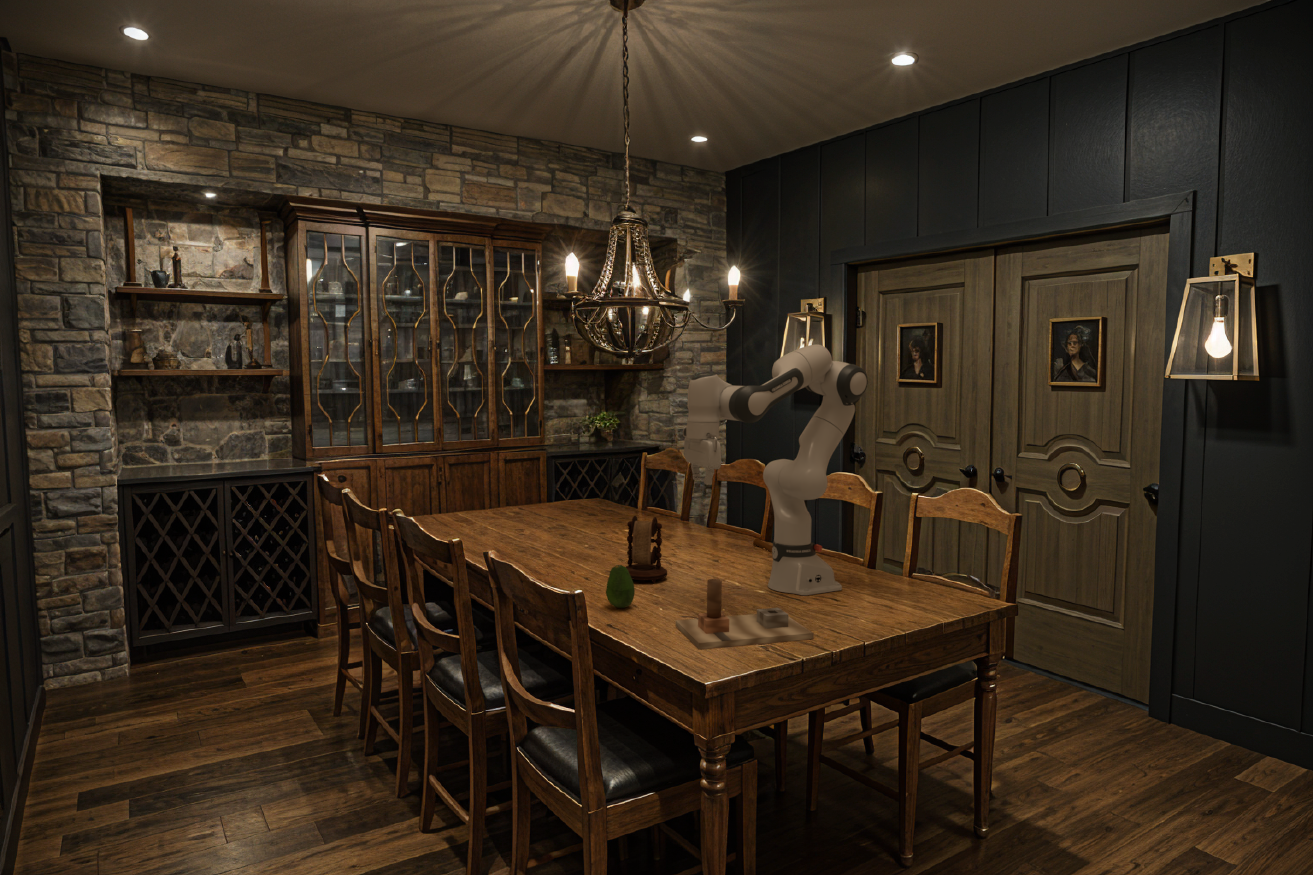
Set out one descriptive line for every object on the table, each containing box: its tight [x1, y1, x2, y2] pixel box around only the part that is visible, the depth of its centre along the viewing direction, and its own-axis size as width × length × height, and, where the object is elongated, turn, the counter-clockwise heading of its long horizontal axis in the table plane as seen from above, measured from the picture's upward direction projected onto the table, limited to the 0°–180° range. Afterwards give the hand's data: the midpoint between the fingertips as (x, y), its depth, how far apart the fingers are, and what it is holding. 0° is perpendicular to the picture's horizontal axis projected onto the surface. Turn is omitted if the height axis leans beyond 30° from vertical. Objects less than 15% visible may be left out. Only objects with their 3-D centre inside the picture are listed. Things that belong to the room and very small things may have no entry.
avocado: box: [605, 564, 636, 609], centre depth 220 cm, size 8×8×12 cm
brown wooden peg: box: [706, 578, 723, 619], centre depth 198 cm, size 4×4×12 cm
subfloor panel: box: [675, 607, 815, 650], centre depth 201 cm, size 30×18×5 cm, turn 107°
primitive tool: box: [752, 537, 773, 553], centre depth 295 cm, size 19×6×4 cm, turn 30°
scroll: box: [625, 515, 668, 585], centre depth 252 cm, size 15×15×20 cm
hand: (702, 482), depth 220 cm, fingers open, 8 cm apart
